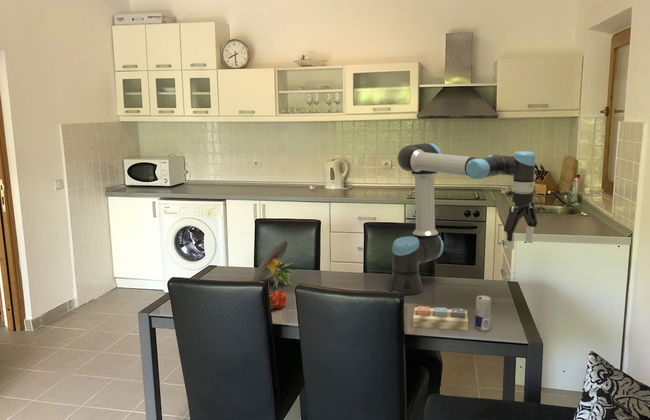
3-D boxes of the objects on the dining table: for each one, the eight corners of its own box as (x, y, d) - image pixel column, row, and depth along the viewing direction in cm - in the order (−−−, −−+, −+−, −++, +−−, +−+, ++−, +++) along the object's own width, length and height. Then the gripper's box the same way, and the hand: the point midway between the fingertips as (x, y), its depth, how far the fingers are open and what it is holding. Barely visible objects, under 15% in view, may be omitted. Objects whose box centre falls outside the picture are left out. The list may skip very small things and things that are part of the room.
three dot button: (434, 317, 204) (434, 311, 203) (434, 313, 208) (434, 306, 208) (446, 318, 203) (446, 311, 202) (446, 314, 207) (446, 307, 207)
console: (412, 326, 203) (413, 317, 202) (414, 315, 214) (414, 307, 213) (467, 330, 199) (467, 321, 198) (466, 318, 209) (467, 310, 208)
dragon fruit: (265, 316, 220) (283, 310, 231) (279, 307, 216) (296, 302, 226) (256, 297, 223) (274, 292, 233) (270, 288, 219) (287, 284, 229)
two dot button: (451, 318, 202) (452, 312, 202) (451, 314, 207) (452, 307, 206) (464, 319, 201) (464, 312, 201) (463, 315, 206) (464, 308, 205)
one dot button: (416, 316, 205) (416, 309, 205) (417, 312, 210) (417, 305, 209) (428, 317, 204) (429, 310, 204) (429, 312, 209) (429, 306, 208)
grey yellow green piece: (260, 310, 242) (294, 273, 233) (236, 281, 246) (268, 244, 238) (287, 298, 264) (319, 264, 256) (265, 272, 269) (295, 237, 260)
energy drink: (475, 324, 204) (476, 294, 201) (490, 326, 202) (491, 295, 200) (474, 330, 199) (475, 299, 196) (490, 331, 197) (491, 300, 195)
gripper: (514, 197, 196) (511, 253, 200) (548, 189, 211) (545, 241, 216) (495, 195, 201) (493, 249, 206) (530, 187, 217) (527, 238, 221)
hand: (519, 245), depth 211 cm, fingers open, 13 cm apart
